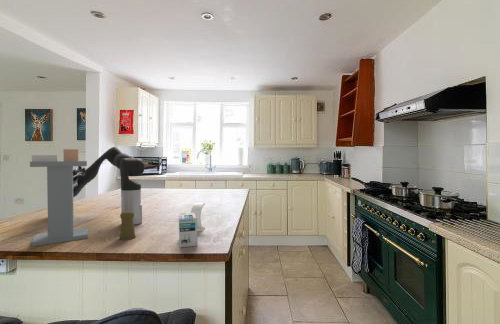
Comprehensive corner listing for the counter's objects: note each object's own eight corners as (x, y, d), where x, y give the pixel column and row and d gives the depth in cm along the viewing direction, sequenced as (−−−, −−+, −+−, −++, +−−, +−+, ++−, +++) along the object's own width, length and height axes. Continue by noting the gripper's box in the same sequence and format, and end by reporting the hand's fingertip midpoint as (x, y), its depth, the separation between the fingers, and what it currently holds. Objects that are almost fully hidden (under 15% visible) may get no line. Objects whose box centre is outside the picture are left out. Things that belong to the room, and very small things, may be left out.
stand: (87, 230, 117) (86, 155, 117) (87, 238, 106) (86, 155, 106) (36, 237, 107) (35, 155, 107) (31, 246, 97) (29, 155, 96)
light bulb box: (197, 246, 96) (197, 217, 96) (179, 248, 94) (179, 218, 94) (195, 237, 106) (195, 211, 106) (178, 239, 104) (178, 213, 104)
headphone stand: (205, 228, 121) (204, 202, 121) (199, 231, 115) (199, 205, 115) (195, 227, 122) (195, 202, 122) (190, 231, 116) (190, 204, 116)
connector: (79, 161, 122) (78, 150, 122) (78, 161, 108) (78, 149, 108) (66, 161, 120) (66, 150, 120) (63, 161, 105) (63, 149, 105)
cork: (129, 240, 103) (128, 213, 103) (116, 239, 104) (115, 212, 104) (138, 235, 109) (138, 210, 109) (126, 235, 110) (125, 209, 110)
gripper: (85, 183, 146) (86, 173, 134) (54, 187, 137) (52, 176, 125) (84, 171, 148) (84, 160, 136) (53, 174, 139) (51, 162, 127)
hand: (69, 167), depth 130 cm, fingers open, 8 cm apart
